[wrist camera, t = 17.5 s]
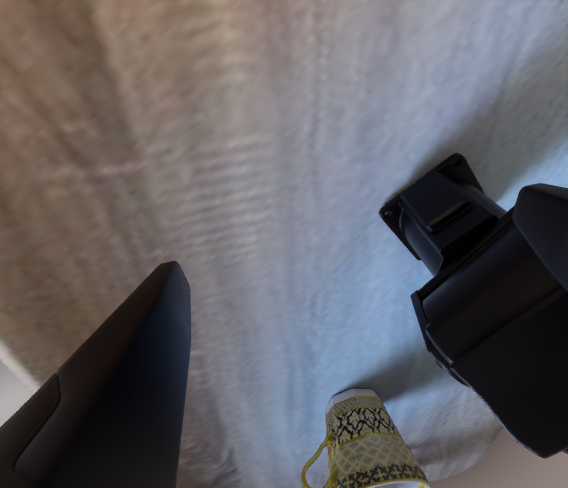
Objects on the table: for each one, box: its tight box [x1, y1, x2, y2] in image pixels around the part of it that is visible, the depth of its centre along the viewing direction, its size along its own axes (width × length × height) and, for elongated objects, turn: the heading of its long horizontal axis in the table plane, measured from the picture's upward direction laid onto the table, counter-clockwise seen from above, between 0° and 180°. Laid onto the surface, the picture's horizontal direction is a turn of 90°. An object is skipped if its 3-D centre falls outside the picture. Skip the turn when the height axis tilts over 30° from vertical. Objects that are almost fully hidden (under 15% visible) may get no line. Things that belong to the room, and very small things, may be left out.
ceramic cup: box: [301, 389, 431, 488], centre depth 36 cm, size 13×10×10 cm
